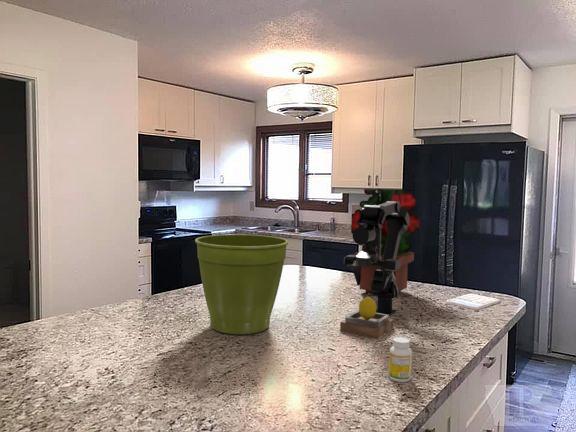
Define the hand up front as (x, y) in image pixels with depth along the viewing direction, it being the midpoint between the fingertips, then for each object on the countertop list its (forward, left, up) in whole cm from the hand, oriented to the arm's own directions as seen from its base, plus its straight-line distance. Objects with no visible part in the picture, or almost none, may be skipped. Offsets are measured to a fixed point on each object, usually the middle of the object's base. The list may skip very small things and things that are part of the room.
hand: (370, 287), depth 166 cm
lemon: (+9, +3, -9) cm, 14 cm away
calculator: (-50, +24, -13) cm, 57 cm away
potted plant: (-44, -12, -12) cm, 47 cm away
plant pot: (+31, -32, -12) cm, 46 cm away
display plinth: (+9, +3, -12) cm, 16 cm away
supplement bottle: (+41, +25, -12) cm, 49 cm away
